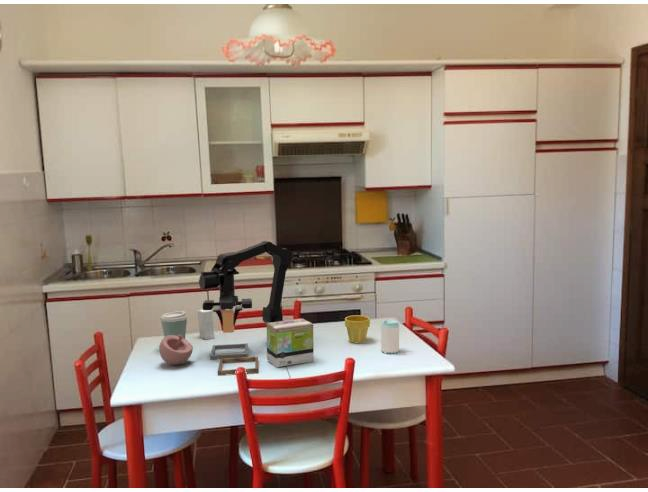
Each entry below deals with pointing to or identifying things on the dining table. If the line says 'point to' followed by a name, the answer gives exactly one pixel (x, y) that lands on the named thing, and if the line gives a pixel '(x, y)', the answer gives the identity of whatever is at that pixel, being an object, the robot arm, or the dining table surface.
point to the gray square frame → (229, 346)
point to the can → (389, 336)
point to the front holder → (234, 360)
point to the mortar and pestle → (175, 349)
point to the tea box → (289, 342)
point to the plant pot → (357, 327)
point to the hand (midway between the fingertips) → (228, 326)
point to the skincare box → (206, 324)
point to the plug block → (228, 321)
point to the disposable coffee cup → (174, 323)
